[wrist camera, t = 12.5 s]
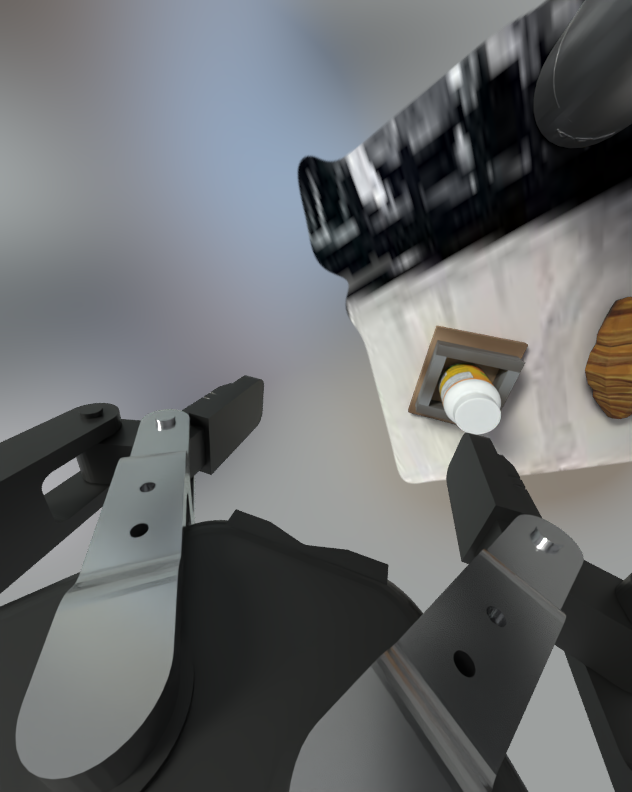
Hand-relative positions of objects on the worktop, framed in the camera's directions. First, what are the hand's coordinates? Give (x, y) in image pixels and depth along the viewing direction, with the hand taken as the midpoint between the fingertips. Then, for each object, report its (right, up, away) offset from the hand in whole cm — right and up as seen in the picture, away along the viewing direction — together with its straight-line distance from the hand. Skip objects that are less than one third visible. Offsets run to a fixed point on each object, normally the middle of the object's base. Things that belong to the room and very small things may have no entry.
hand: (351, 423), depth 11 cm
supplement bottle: (+17, +3, +24) cm, 30 cm away
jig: (+17, +3, +25) cm, 31 cm away
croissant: (+32, +5, +20) cm, 38 cm away
